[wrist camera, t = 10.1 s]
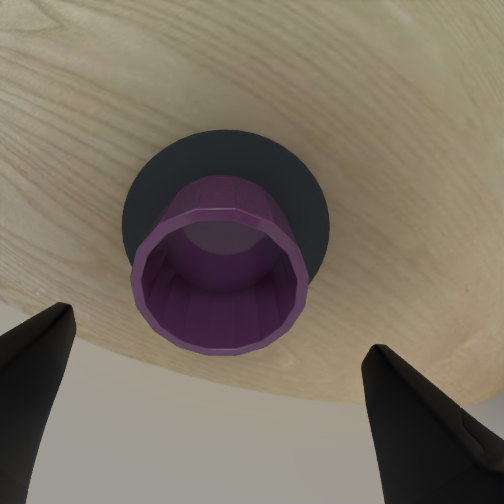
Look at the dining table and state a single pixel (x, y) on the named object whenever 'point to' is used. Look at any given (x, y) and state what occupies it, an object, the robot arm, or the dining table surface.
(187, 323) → the purple cup
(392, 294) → the dining table surface
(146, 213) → the coaster
